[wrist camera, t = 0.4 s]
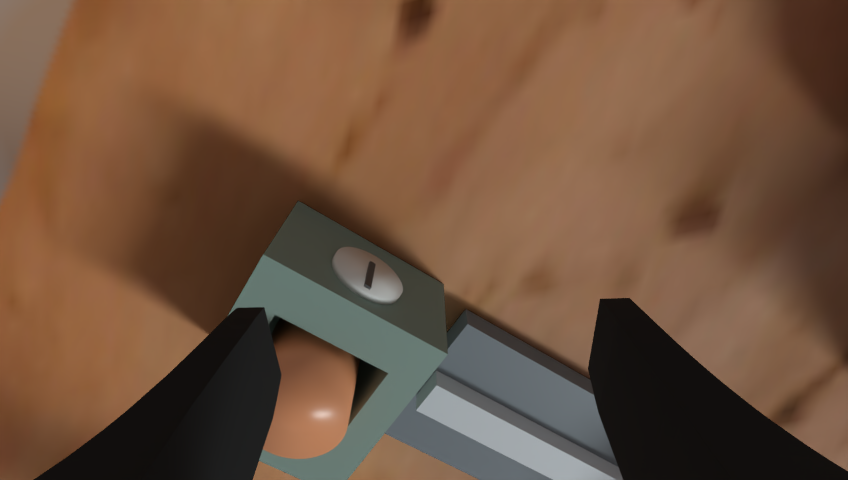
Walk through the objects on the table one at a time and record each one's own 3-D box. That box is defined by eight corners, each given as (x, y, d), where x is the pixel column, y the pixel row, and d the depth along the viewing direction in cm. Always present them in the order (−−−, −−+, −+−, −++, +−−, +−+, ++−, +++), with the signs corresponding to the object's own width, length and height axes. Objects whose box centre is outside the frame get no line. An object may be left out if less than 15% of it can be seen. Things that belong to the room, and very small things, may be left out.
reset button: (335, 393, 22) (316, 473, 19) (257, 354, 22) (220, 430, 18) (379, 332, 21) (368, 405, 17) (298, 289, 20) (268, 355, 17)
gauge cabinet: (351, 407, 26) (335, 494, 21) (216, 340, 24) (167, 420, 20) (448, 277, 23) (454, 346, 18) (302, 192, 21) (268, 244, 17)
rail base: (686, 564, 30) (705, 604, 28) (383, 413, 26) (379, 448, 24) (782, 489, 28) (810, 527, 26) (465, 309, 23) (469, 337, 21)
